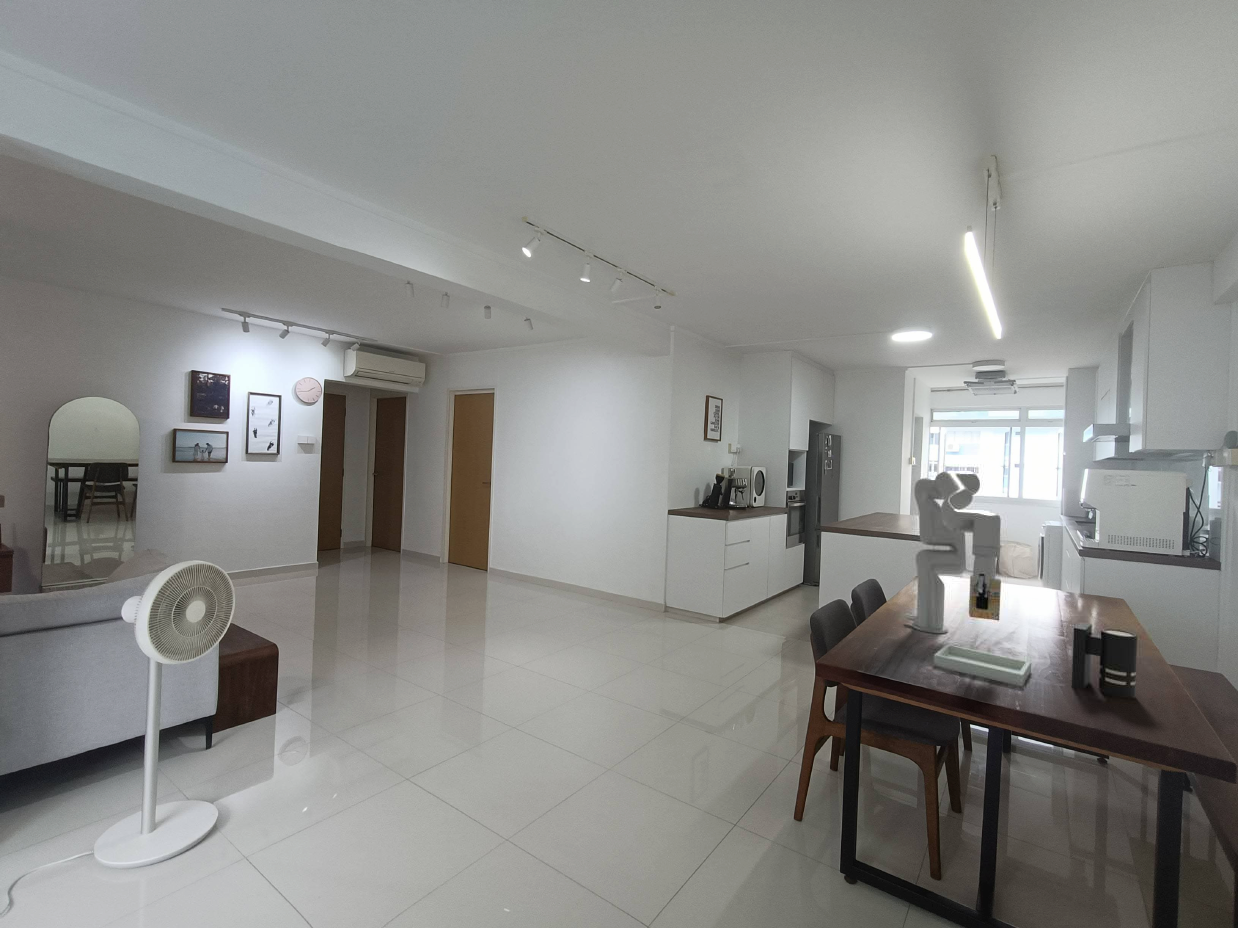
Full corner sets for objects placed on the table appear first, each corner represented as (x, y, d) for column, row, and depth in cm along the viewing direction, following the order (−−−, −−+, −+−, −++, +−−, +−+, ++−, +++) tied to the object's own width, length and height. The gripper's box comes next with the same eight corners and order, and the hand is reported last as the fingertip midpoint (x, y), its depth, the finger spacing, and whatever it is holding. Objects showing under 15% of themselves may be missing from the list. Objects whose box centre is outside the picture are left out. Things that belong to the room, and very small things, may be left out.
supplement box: (969, 617, 189) (970, 576, 189) (968, 613, 194) (969, 574, 193) (1000, 621, 185) (1001, 579, 185) (998, 617, 190) (999, 577, 190)
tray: (933, 665, 191) (934, 654, 191) (946, 654, 203) (947, 643, 203) (1022, 686, 175) (1022, 674, 175) (1030, 672, 186) (1031, 661, 186)
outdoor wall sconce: (1132, 702, 165) (1134, 639, 165) (1071, 687, 175) (1073, 627, 175) (1137, 693, 172) (1139, 632, 171) (1078, 679, 182) (1080, 621, 182)
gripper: (978, 547, 198) (976, 600, 198) (966, 552, 185) (964, 609, 186) (1004, 550, 193) (1002, 604, 193) (994, 555, 180) (992, 614, 181)
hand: (984, 606), depth 189 cm, fingers closed on supplement box, 5 cm apart
